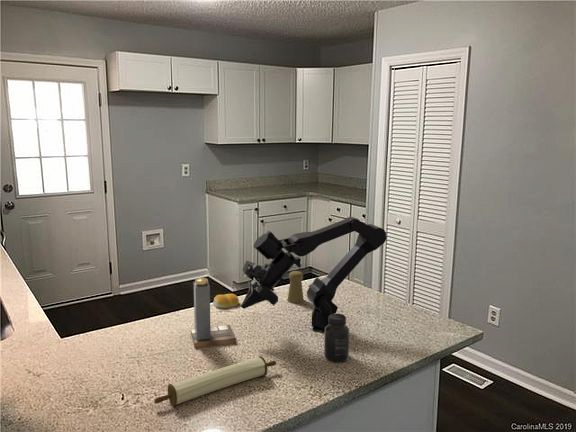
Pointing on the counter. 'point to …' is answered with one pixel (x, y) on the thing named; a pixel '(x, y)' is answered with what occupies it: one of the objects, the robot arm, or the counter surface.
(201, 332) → the grey square pillar
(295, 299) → the cork
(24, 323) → the counter surface
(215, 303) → the bread roll
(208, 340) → the board
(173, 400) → the rolling pin
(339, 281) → the robot arm
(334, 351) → the supplement bottle
